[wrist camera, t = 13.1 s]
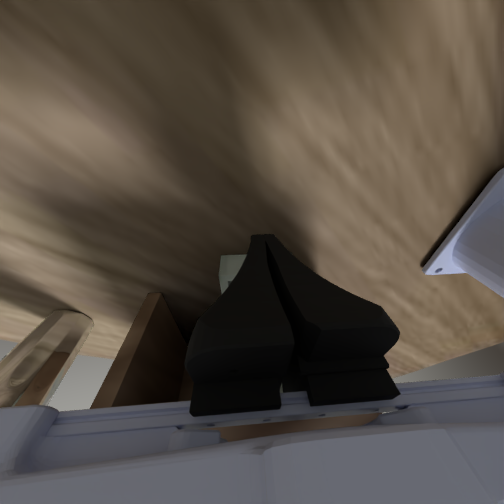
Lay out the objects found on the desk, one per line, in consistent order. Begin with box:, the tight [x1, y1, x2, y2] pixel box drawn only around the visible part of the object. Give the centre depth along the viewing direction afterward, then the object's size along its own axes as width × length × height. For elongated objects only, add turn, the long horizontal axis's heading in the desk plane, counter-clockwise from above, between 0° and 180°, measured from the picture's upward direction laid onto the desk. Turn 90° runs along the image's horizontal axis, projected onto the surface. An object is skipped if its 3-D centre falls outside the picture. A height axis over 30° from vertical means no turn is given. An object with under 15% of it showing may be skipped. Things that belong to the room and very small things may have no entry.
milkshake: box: [0, 310, 94, 408], centre depth 12 cm, size 4×5×10 cm
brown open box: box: [90, 293, 382, 442], centre depth 14 cm, size 14×11×9 cm
